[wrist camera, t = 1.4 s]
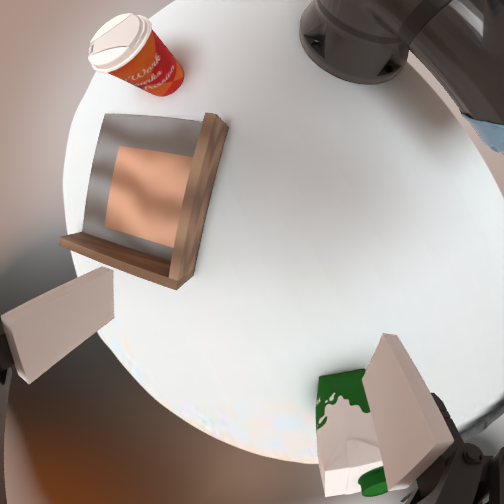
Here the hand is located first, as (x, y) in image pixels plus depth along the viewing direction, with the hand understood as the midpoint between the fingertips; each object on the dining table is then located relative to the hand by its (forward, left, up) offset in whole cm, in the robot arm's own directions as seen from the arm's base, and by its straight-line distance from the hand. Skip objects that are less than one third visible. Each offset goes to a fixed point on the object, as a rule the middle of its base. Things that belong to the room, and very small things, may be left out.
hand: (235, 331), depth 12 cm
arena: (-3, -19, -23) cm, 30 cm away
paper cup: (-19, -20, -23) cm, 36 cm away
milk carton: (+19, +17, -23) cm, 35 cm away
